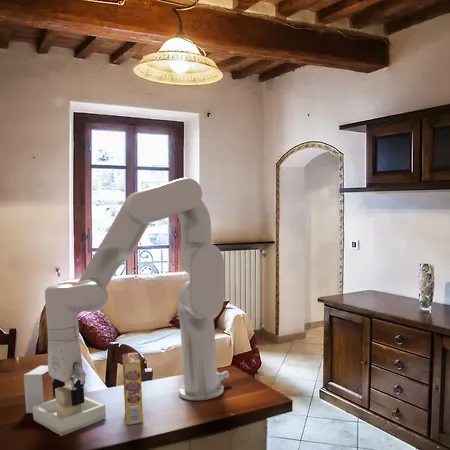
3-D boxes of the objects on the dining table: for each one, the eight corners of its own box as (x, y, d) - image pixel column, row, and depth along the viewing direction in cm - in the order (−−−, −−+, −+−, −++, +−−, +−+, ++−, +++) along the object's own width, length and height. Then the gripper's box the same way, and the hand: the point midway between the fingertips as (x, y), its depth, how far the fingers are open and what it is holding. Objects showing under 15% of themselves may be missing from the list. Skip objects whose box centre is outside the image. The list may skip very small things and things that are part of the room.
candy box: (144, 423, 120) (140, 361, 119) (126, 425, 118) (122, 363, 118) (141, 409, 128) (137, 351, 128) (125, 412, 127) (121, 353, 127)
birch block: (73, 410, 128) (71, 383, 127) (81, 414, 124) (79, 387, 124) (56, 416, 124) (54, 389, 124) (65, 420, 121) (63, 392, 121)
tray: (76, 404, 134) (75, 392, 134) (105, 418, 124) (104, 404, 123) (33, 420, 125) (32, 406, 125) (61, 436, 115) (60, 421, 115)
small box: (44, 414, 129) (41, 374, 129) (25, 413, 130) (22, 374, 130) (60, 402, 137) (58, 364, 137) (42, 401, 138) (40, 364, 138)
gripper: (34, 332, 127) (39, 397, 128) (66, 341, 115) (71, 413, 116) (61, 326, 133) (66, 388, 133) (94, 334, 121) (99, 402, 121)
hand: (68, 399), depth 124 cm, fingers open, 9 cm apart
